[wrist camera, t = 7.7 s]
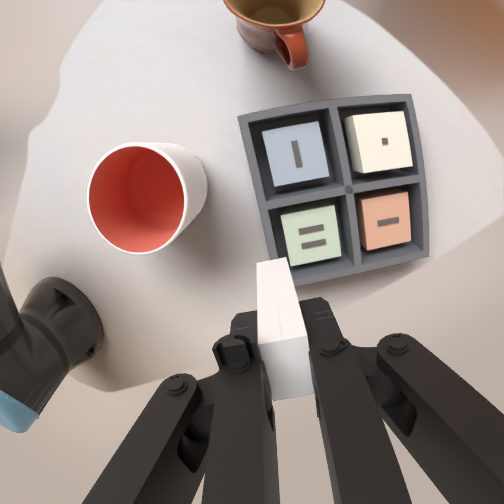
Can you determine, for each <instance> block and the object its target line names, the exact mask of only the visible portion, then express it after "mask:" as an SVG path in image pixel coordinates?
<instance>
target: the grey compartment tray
mask: <svg viewBox="0 0 504 504" xmlns="http://www.w3.org/2000/svg"><path fill="white" fill-rule="evenodd" d="M400 111H403V112H404V117H405V122H406V127H407V132H408V138H409V144H410V150H411V157H412V164H413V166H410V167H402V168H395V169H388V170H381V171H374V172H368V173H361V172H357V171H353V167H352V161H351V156H350V151H349V145H348V140H347V135H346V131H345V126H344V121H343V119H344V118H347V117H350V116H353V115H362V114H373V113H385V112H400ZM237 117H238V122H239V126H240V130H241V134H242V138H243V142H244V147H245V151H246V155H247V159H248V163H249V168H250V172H251V176H252V181H253V185H254V189H255V194H256V198H257V202H258V207H259V211H260V215H261V220H262V224H263V229H264V233H265V238H266V242H267V247H268V251H269V256H270V260H274V259H279V258H284V257H286V259H287V262H288V266H289V269H290V273H291V276H292V280H293V284H294V287H296V286H301V285H306V284H310V283H315V282H320V281H325V280H330V279H334V278H339V277H344V276H348V275H353V274H357V273H362V272H366V271H370V270H375V269H379V268H383V267H388V266H392V265H396V264H400V263H404V262H408V261H412V260H416V259H420V258H424V257H428V256H429V220H428V202H427V189H426V179H425V170H424V161H423V154H422V147H421V141H420V135H419V129H418V124H417V119H416V114H415V109H414V104H413V100H412V96H411V94H391V95H373V96H360V97H349V98H339V99H331V100H323V101H316V102H309V103H302V104H296V105H290V106H284V107H279V108H273V109H268V110H263V111H259V112H254V113H249V114H245V115H241V116H237ZM311 122H318V123H319V127H320V132H321V136H322V141H323V146H324V151H325V155H326V161H327V166H328V171H329V176H328V177H322V178H317V179H311V180H306V181H301V182H295V183H290V184H285V185H280V186H275V187H274V183H273V179H272V175H271V170H270V166H269V161H268V157H267V153H266V148H265V144H264V140H263V135H262V131H267V130H272V129H277V128H282V127H288V126H293V125H299V124H305V123H311ZM390 188H398V189H400V190H403V191H406V192H408V200H409V212H410V228H411V241H408V242H403V243H399V244H394V245H390V246H385V247H381V248H376V249H372V250H366V249H365V248H364V247H363V245H362V244H361V243H360V241H359V232H358V223H357V215H356V207H355V200H354V195H355V194H360V193H366V192H372V191H378V190H384V189H390ZM322 200H329V201H330V202H331V203H332V204H334V206H335V212H336V219H337V226H338V233H339V240H340V248H341V256H339V257H334V258H329V259H324V260H319V261H315V262H310V263H305V264H300V265H295V266H291V265H290V261H289V256H288V251H287V246H286V241H285V236H284V231H283V226H282V221H281V216H280V212H279V209H281V208H286V207H291V206H296V205H301V204H306V203H312V202H317V201H322Z"/></svg>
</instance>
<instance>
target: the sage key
mask: <svg viewBox="0 0 504 504" xmlns="http://www.w3.org/2000/svg"><path fill="white" fill-rule="evenodd" d="M279 212H280V216H281V221H282V226H283V231H284V236H285V241H286V246H287V251H288V256H289V261H290V265H291V266H295V265H300V264H305V263H310V262H315V261H319V260H324V259H329V258H334V257H339V256H341V248H340V240H339V233H338V226H337V219H336V212H335V206H334V204H332V203H331V202H330V201H329V200H322V201H317V202H312V203H306V204H301V205H296V206H291V207H286V208H281V209H279Z"/></svg>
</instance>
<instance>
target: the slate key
mask: <svg viewBox="0 0 504 504" xmlns="http://www.w3.org/2000/svg"><path fill="white" fill-rule="evenodd" d="M262 135H263V140H264V144H265V148H266V153H267V157H268V161H269V166H270V170H271V175H272V179H273V183H274V187H275V186H280V185H285V184H290V183H295V182H301V181H306V180H311V179H317V178H322V177H328V176H329V171H328V166H327V161H326V155H325V151H324V146H323V141H322V136H321V132H320V127H319V123H318V122H311V123H305V124H299V125H293V126H288V127H282V128H277V129H272V130H267V131H262Z"/></svg>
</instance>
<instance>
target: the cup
mask: <svg viewBox="0 0 504 504" xmlns="http://www.w3.org/2000/svg"><path fill="white" fill-rule="evenodd" d="M206 196H207V177H206V173H205V171H204V168H203V166H202V164H201V163H200V161H199V160H198V158H197V157H196V156H195V155H194V154H193V153H192V152H190V151H189V150H187V149H186V148H184V147H182V146H179V145H176V144H170V143H128V144H123V145H120V146H118V147H116V148H114V149H112V150H111V151H109V152H108V153H107V154H105V155H104V156H103V157H102V158H101V159H100V161H99V162H98V163H97V165H96V166H95V168H94V170H93V172H92V174H91V177H90V180H89V184H88V190H87V204H88V210H89V214H90V217H91V220H92V222H93V224H94V226H95V228H96V230H97V231H98V233H99V234H100V235H101V237H102V238H103V239H104V240H105V241H106V242H107V243H109V244H110V245H111V246H112V247H114V248H116V249H118V250H120V251H122V252H124V253H128V254H132V255H148V254H152V253H155V252H158V251H160V250H162V249H164V248H165V247H167V246H168V245H169V244H170V243H172V242H173V241H174V240H175V238H176V237H177V236H178V235H179V234H180V233H181V232H182V231H183V230H184V229H185V228H186V227H187V226H188V225H189V224H190V223H191V222H192V220H193V219H194V218H195V217H196V216H197V215H198V214H199V212H200V211H201V209H202V207H203V205H204V203H205V200H206Z"/></svg>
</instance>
